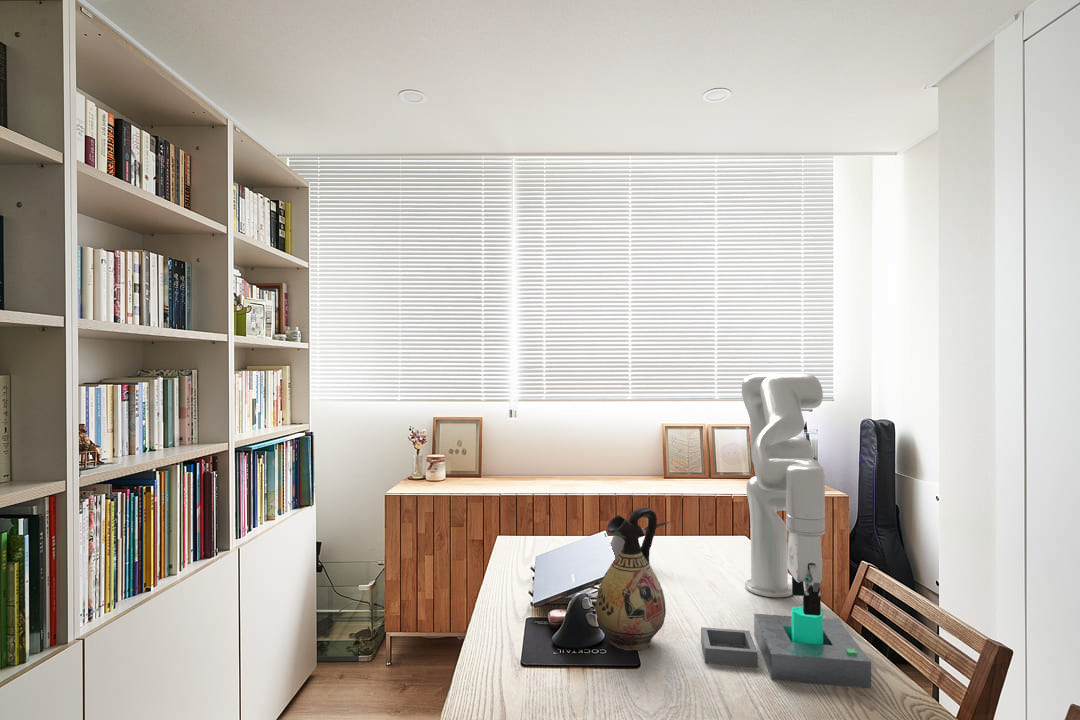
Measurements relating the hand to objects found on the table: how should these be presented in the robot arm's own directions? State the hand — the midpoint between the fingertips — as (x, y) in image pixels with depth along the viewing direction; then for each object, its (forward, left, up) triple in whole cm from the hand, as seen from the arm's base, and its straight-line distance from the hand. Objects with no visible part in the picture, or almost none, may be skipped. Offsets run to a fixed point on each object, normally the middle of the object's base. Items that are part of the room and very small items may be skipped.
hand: (805, 604), depth 126 cm
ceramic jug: (-1, -36, -11) cm, 38 cm away
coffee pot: (-56, -36, -11) cm, 68 cm away
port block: (+1, 0, -11) cm, 11 cm away
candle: (+2, 0, -11) cm, 11 cm away
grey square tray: (+1, -16, -11) cm, 20 cm away
